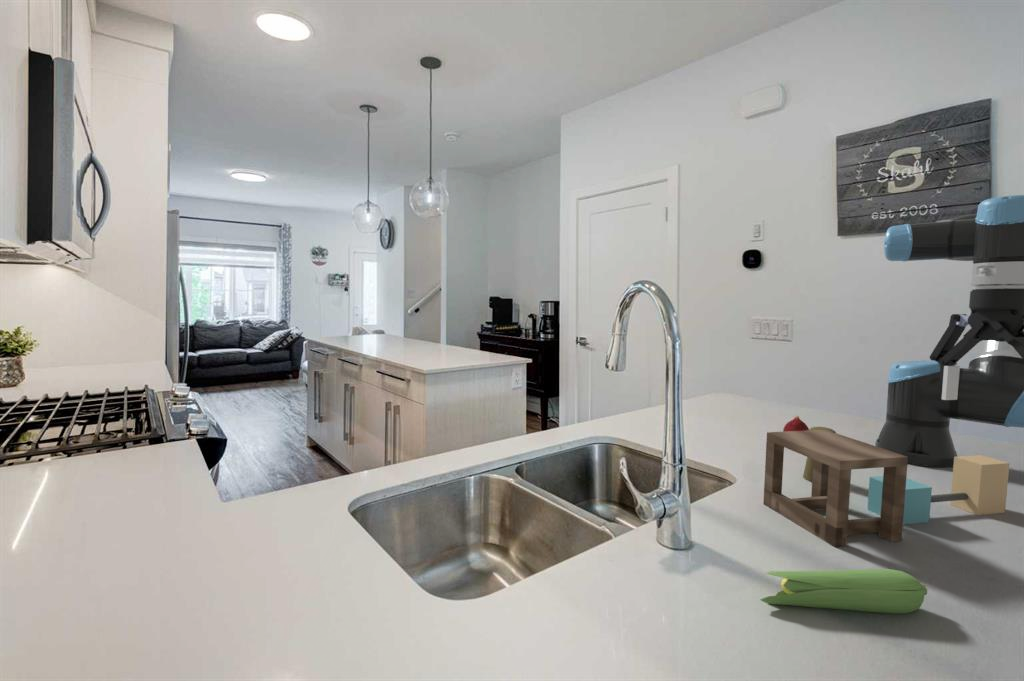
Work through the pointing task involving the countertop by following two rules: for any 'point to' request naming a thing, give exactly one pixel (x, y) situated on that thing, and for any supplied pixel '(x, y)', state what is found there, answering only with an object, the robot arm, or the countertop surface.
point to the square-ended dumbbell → (953, 490)
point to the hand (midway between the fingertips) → (989, 407)
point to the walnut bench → (835, 484)
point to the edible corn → (850, 590)
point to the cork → (809, 462)
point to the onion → (795, 425)
